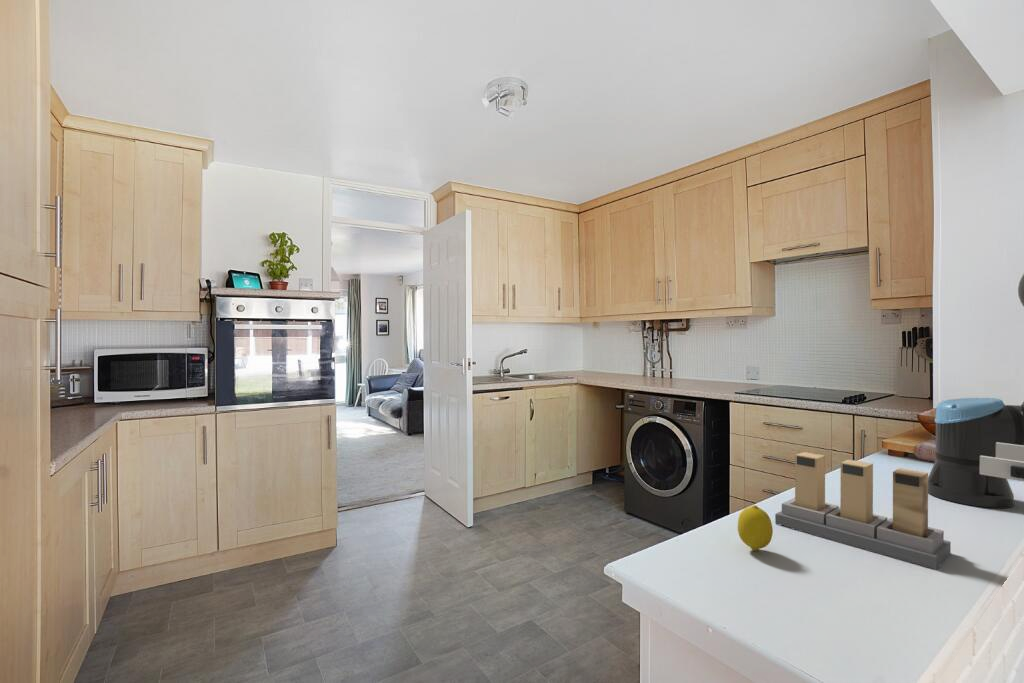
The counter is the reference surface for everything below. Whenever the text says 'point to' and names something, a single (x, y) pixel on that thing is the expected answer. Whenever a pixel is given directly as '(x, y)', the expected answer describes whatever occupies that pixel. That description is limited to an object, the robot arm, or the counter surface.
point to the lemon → (755, 527)
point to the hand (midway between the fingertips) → (988, 457)
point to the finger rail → (854, 514)
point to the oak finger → (910, 502)
